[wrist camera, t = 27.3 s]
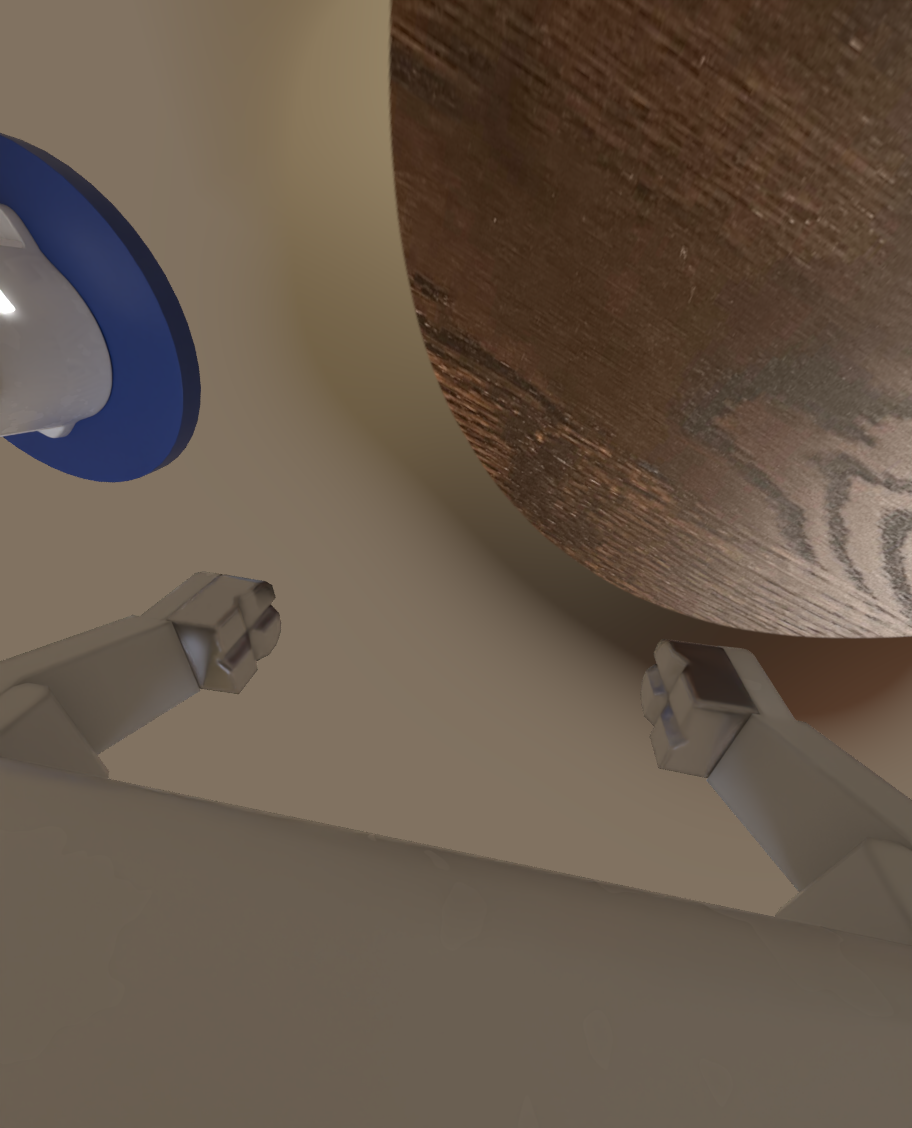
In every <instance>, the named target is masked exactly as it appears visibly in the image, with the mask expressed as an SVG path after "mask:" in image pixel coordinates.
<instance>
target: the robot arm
mask: <svg viewBox="0 0 912 1128" xmlns="http://www.w3.org/2000/svg"><path fill="white" fill-rule="evenodd" d="M111 388H112V367H111V361H110V356H109V352H108V349H107V345H106V343H105V340H104V337H103V335H102V332H101V330H100V328H99V326H98V324H97V322H96V320H95V318H94V316H93V315H92V313H91V311H90V309H89V308H88V306H87V305H86V303H85V302H84V300H83V299H82V297H81V296H80V295H79V293H78V292H77V291H76V289H75V288H74V287H73V286H72V285H71V283H70V282H69V281H68V280H67V279H66V278H65V277H64V276H63V275H62V274H61V273H60V272H59V271H58V270H57V268H56V267H55V266H54V265H53V264H52V263H51V262H50V261H49V260H48V259H47V258H46V257H45V255H44V254H43V253H42V252H41V250H40V249H39V247H38V245H37V244H36V242H35V240H34V239H33V237H32V235H31V234H30V232H29V231H28V229H27V228H26V226H25V224H24V223H23V222H22V220H21V219H20V217H19V216H18V215H17V214H16V213H15V212H14V211H13V210H12V209H11V208H10V207H8V206H6V205H4V204H0V437H3V436H9V435H15V434H21V433H27V432H33V431H38V432H40V433H42V434H44V435H46V436H48V437H51V438H60V437H65V436H67V435H68V434H69V433H70V432H71V431H72V429H73V427H74V426H75V424H76V422H78V421H80V420H82V419H85V418H88V417H91V416H93V415H95V414H97V413H98V412H99V411H100V410H101V409H102V408H103V407H104V406H105V404H106V403H107V401H108V399H109V396H110V393H111ZM274 599H275V594H274V590H273V587H272V585H271V584H269V583H268V582H266V581H260V580H254V579H249V578H243V577H237V576H230V575H222V574H217V573H210V572H198V573H195V574H194V575H192V576H191V577H190V578H189V579H187V580H186V581H185V582H183V583H182V584H181V585H179V586H178V587H177V588H175V589H174V590H173V591H172V592H170V593H169V594H168V595H166V596H165V597H164V598H163V599H161V600H160V601H159V602H157V603H156V604H155V605H154V606H152V607H151V608H150V609H148V610H147V611H146V612H145V613H143V614H142V615H141V616H135V615H132V616H129V617H126V618H123V619H120V620H118V621H115V622H112V623H109V624H106V625H103V626H101V627H97V628H95V629H92V630H89V631H86V632H83V633H80V634H77V635H74V636H72V637H69V638H66V639H63V640H60V641H57V642H54V643H51V644H49V645H46V646H43V647H40V648H37V649H35V650H31V651H29V652H26V653H23V654H20V655H17V656H14V657H12V658H9V659H6V660H3V661H0V1128H912V800H911V799H910V798H908V797H907V796H905V795H904V794H903V793H901V792H900V791H899V790H897V789H896V788H895V787H893V786H892V785H890V784H889V783H888V782H886V781H885V780H884V779H882V778H881V777H880V776H878V775H877V774H876V773H874V772H873V771H871V770H870V769H869V768H867V767H866V766H865V765H863V764H862V763H861V762H859V761H858V760H856V759H855V758H854V757H852V756H851V755H850V754H848V753H847V752H845V751H844V750H843V749H841V748H840V747H839V746H837V745H836V744H835V743H833V742H832V741H830V740H829V739H828V738H826V737H825V736H824V735H822V734H821V733H819V732H818V731H817V730H815V729H814V728H812V727H811V726H810V725H809V724H807V723H806V722H801V721H796V720H795V719H794V717H793V716H792V714H791V713H790V711H789V709H788V708H787V706H786V705H785V703H784V702H783V700H782V698H781V697H780V695H779V694H778V693H777V691H776V689H775V688H774V686H773V684H772V683H771V681H770V680H769V678H768V677H767V675H766V674H765V672H764V670H763V669H762V667H761V666H760V664H759V662H758V661H757V660H756V658H755V656H754V655H753V654H752V653H751V652H749V651H748V650H746V649H740V648H732V647H723V646H717V647H716V646H711V645H703V644H696V643H689V642H681V641H675V640H667V639H663V640H661V641H660V642H659V643H658V645H657V647H656V649H655V652H654V656H655V659H656V662H657V664H655V665H653V666H652V667H650V668H649V669H647V670H646V673H645V675H644V678H643V681H642V687H641V705H642V709H643V713H644V717H645V718H646V719H647V720H648V721H649V722H650V723H651V724H652V725H653V726H654V728H653V730H652V732H651V735H650V739H651V743H652V747H653V750H654V754H655V757H656V761H657V765H658V768H660V769H665V770H669V771H675V772H680V773H684V774H689V775H694V776H699V777H704V778H708V779H707V781H708V783H709V784H710V785H711V786H712V787H713V789H714V790H715V791H716V792H717V794H718V795H719V796H720V797H721V798H722V800H723V801H724V802H725V803H726V804H727V806H728V807H729V808H730V809H731V810H732V812H733V813H734V814H735V815H736V817H737V818H738V819H739V820H740V821H741V823H742V824H743V825H744V826H745V827H746V828H747V830H748V831H749V832H750V833H751V835H752V836H753V837H754V838H755V839H756V841H757V842H758V843H759V844H760V845H761V847H762V848H763V849H764V850H765V852H766V853H767V854H768V855H769V856H770V858H771V859H772V860H773V861H774V862H775V864H776V865H777V866H778V867H779V868H780V870H781V871H782V872H783V873H784V874H785V876H786V877H787V878H788V879H789V880H790V882H791V883H792V884H793V885H794V887H795V888H796V889H797V890H798V891H799V893H798V894H797V895H796V896H795V897H793V898H792V899H791V900H790V901H788V902H787V903H786V904H785V905H784V906H783V907H781V908H780V909H779V911H778V912H777V914H776V915H775V917H773V916H768V915H763V914H758V913H753V912H749V911H743V910H739V909H734V908H729V907H724V906H720V905H715V904H710V903H705V902H700V901H695V900H691V899H686V898H681V897H676V896H671V895H666V894H661V893H657V892H651V891H647V890H642V889H637V888H633V887H628V886H623V885H618V884H613V883H609V882H604V881H599V880H594V879H589V878H585V877H580V876H575V875H570V874H565V873H560V872H556V871H551V870H546V869H541V868H537V867H532V866H527V865H522V864H517V863H513V862H508V861H503V860H498V859H493V858H489V857H484V856H479V855H474V854H469V853H464V852H460V851H455V850H450V849H445V848H440V847H435V846H431V845H426V844H421V843H417V842H412V841H407V840H402V839H397V838H392V837H387V836H383V835H378V834H373V833H368V832H363V831H358V830H353V829H349V828H344V827H339V826H334V825H329V824H324V823H320V822H314V821H310V820H305V819H300V818H295V817H290V816H285V815H281V814H276V813H271V812H267V811H261V810H257V809H252V808H247V807H242V806H238V805H232V804H228V803H223V802H218V801H213V800H209V799H204V798H199V797H194V796H189V795H184V794H180V793H175V792H170V791H164V790H160V789H155V788H151V787H145V786H140V785H136V784H131V783H126V782H121V781H117V780H111V779H108V773H109V771H108V769H107V768H106V766H105V765H104V764H103V762H102V761H101V759H100V758H99V757H98V754H100V753H101V752H103V751H104V750H106V749H107V748H109V747H111V746H112V745H114V744H116V743H117V742H119V741H120V740H122V739H124V738H125V737H127V736H128V735H130V734H132V733H133V732H135V731H136V730H138V729H139V728H141V727H143V726H144V725H146V724H147V723H149V722H151V721H152V720H154V719H155V718H157V717H159V716H160V715H162V714H164V713H165V712H167V711H168V710H170V709H172V708H173V707H175V706H176V705H178V704H180V703H181V702H183V701H184V700H186V699H188V698H189V697H191V696H192V695H194V694H196V693H197V692H199V691H200V689H207V690H213V691H220V692H227V693H234V694H239V693H240V692H241V691H242V690H243V688H244V687H245V686H246V684H247V683H248V682H249V680H250V679H251V678H252V677H253V675H254V674H255V673H256V671H257V661H258V660H260V659H262V658H264V657H266V656H268V655H269V654H270V653H271V651H272V650H273V649H274V647H275V646H276V644H277V641H278V639H279V636H280V632H281V620H280V615H279V613H278V612H277V611H276V610H275V609H274V608H273V606H272V605H271V603H272V602H273V600H274ZM199 688H200V689H199Z"/></svg>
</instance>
